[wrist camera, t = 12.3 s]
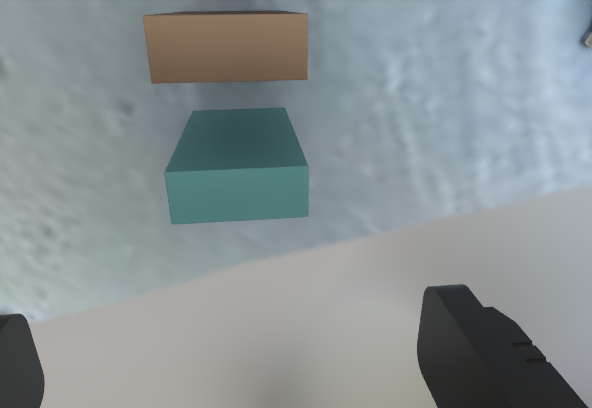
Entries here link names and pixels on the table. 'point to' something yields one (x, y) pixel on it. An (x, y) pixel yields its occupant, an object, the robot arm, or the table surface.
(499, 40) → the table surface
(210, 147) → the tile
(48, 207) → the table surface
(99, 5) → the table surface
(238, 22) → the tile
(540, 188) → the table surface
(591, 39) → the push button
